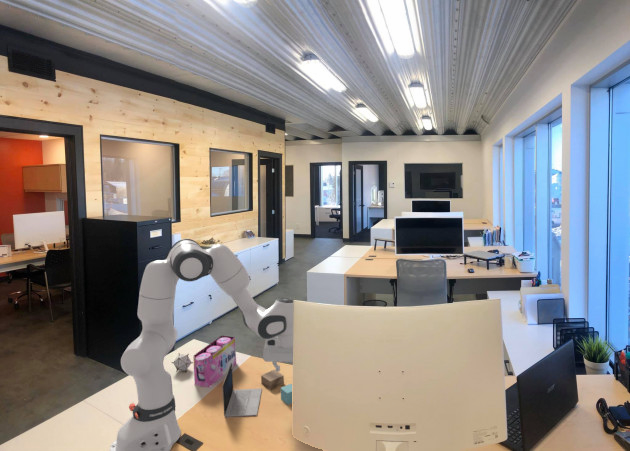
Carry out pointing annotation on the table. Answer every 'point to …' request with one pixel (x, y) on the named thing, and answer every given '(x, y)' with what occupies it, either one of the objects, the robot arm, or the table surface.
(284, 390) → the teal cube
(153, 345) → the robot arm
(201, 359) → the gum box
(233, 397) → the laptop
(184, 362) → the grey spiked polyhedron
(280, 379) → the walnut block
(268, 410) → the table surface
